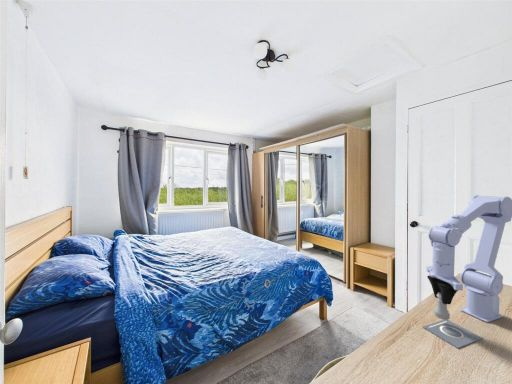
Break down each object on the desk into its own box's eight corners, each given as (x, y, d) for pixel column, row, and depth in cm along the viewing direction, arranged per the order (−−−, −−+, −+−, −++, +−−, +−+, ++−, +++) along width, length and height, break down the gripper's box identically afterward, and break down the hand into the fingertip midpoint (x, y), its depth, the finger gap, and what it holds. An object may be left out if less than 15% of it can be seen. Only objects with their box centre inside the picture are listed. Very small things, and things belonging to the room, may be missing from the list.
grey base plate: (446, 319, 78) (446, 318, 78) (482, 338, 68) (482, 337, 68) (422, 327, 74) (422, 326, 74) (457, 348, 65) (457, 347, 64)
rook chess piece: (452, 321, 73) (454, 298, 72) (437, 319, 74) (438, 296, 74) (445, 313, 77) (446, 291, 77) (430, 311, 78) (431, 289, 78)
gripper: (418, 254, 82) (417, 289, 83) (445, 269, 68) (444, 312, 69) (438, 255, 81) (437, 290, 82) (470, 270, 67) (469, 313, 68)
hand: (442, 300), depth 75 cm, fingers closed on rook chess piece, 3 cm apart
